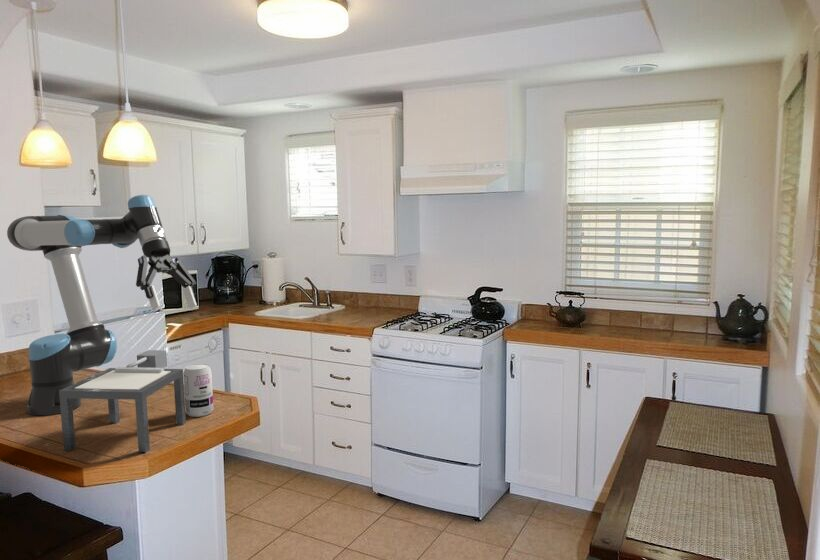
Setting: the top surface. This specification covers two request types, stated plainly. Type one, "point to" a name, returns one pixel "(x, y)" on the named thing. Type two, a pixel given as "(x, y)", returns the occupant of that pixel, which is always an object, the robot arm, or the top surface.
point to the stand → (113, 405)
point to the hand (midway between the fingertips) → (175, 307)
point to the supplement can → (198, 390)
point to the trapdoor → (132, 373)
